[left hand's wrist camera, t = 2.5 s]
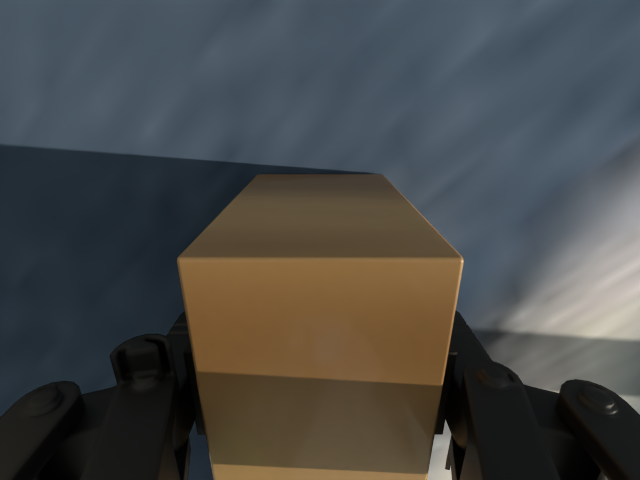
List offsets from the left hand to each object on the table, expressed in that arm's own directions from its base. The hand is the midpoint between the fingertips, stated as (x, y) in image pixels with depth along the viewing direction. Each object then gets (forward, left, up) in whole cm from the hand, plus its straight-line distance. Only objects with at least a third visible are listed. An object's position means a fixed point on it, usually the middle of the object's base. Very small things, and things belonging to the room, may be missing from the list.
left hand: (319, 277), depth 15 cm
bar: (+5, +5, -1) cm, 8 cm away
